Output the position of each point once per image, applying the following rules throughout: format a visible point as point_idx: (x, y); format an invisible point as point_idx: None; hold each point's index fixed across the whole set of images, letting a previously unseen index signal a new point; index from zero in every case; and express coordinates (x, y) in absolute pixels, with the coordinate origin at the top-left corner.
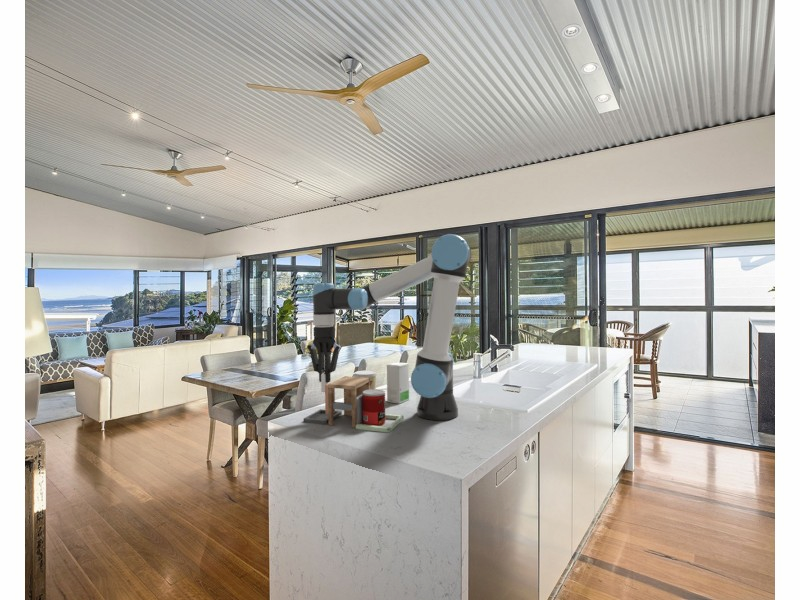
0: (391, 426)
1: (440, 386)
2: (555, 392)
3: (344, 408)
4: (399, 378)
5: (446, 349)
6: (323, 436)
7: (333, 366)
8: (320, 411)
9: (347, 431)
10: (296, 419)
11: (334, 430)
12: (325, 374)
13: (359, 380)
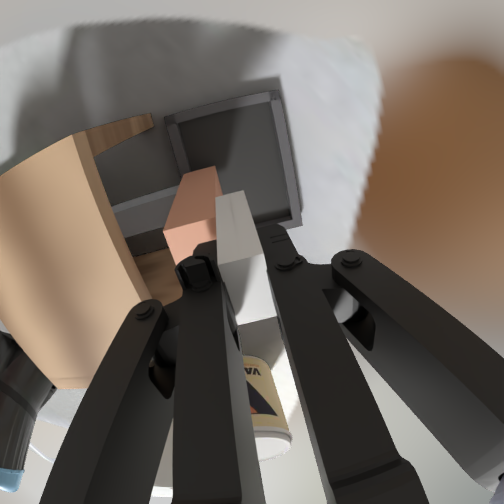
0: None
1: None
2: (40, 454)
3: (118, 205)
4: None
5: None
6: (87, 25)
7: (106, 357)
8: (290, 213)
9: (51, 112)
10: (326, 106)
11: (92, 88)
12: (220, 273)
13: (29, 333)
